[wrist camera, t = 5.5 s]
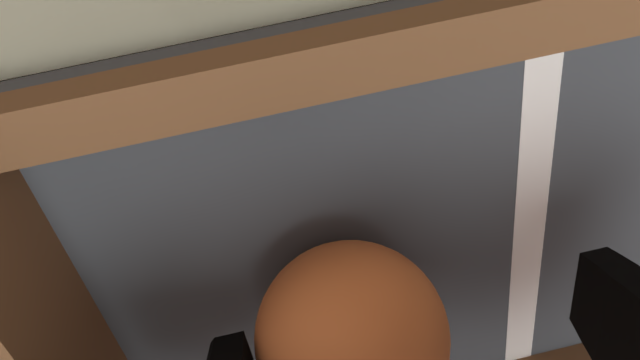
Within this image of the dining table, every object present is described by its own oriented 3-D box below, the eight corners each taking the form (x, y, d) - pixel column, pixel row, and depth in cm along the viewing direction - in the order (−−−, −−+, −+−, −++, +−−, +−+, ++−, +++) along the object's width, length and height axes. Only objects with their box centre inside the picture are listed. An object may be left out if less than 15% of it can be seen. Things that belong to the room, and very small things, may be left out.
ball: (484, 374, 12) (381, 529, 10) (347, 300, 15) (239, 411, 12) (490, 244, 10) (357, 406, 8) (326, 181, 12) (189, 291, 10)
